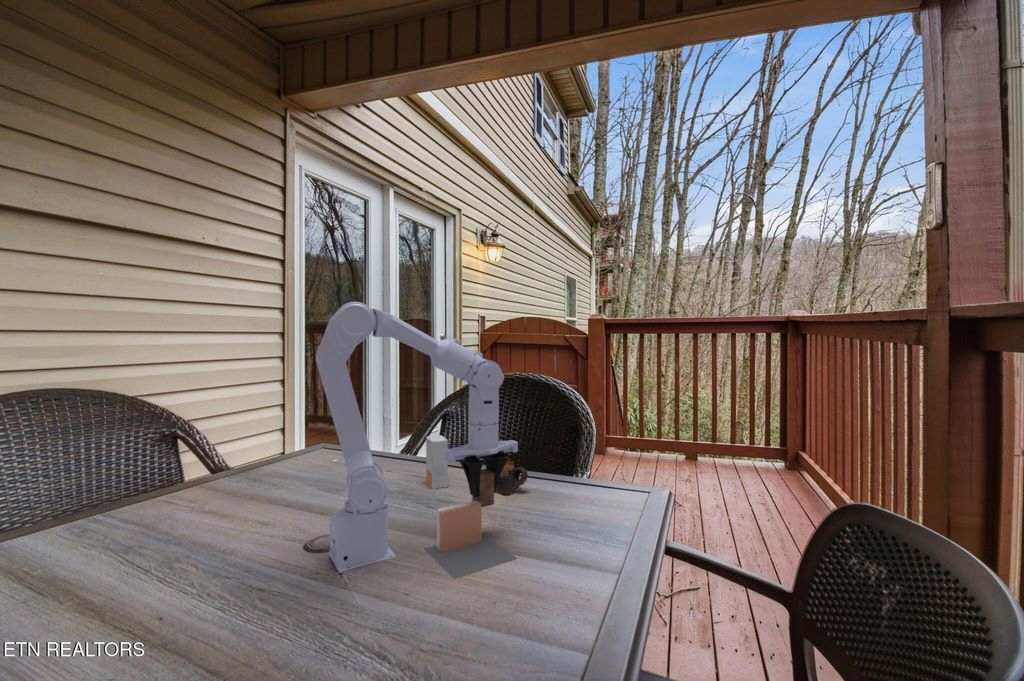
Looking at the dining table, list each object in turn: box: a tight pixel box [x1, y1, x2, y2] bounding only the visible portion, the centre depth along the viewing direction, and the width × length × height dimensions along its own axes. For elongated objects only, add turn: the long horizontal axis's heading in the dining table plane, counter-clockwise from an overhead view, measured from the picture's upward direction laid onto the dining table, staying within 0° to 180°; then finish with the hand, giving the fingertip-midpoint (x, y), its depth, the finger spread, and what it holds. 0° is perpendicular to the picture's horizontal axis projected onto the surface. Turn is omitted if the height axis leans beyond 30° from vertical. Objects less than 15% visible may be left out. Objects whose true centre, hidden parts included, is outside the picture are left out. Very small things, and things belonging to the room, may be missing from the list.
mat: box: [424, 532, 518, 580], centre depth 82 cm, size 12×12×1 cm
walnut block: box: [471, 468, 495, 508], centre depth 89 cm, size 3×3×6 cm
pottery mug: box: [494, 460, 529, 495], centre depth 117 cm, size 12×10×8 cm
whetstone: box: [436, 500, 482, 552], centre depth 85 cm, size 8×2×7 cm, turn 123°
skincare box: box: [425, 434, 449, 490], centre depth 120 cm, size 6×4×12 cm
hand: (482, 493), depth 89 cm, fingers closed on walnut block, 3 cm apart
